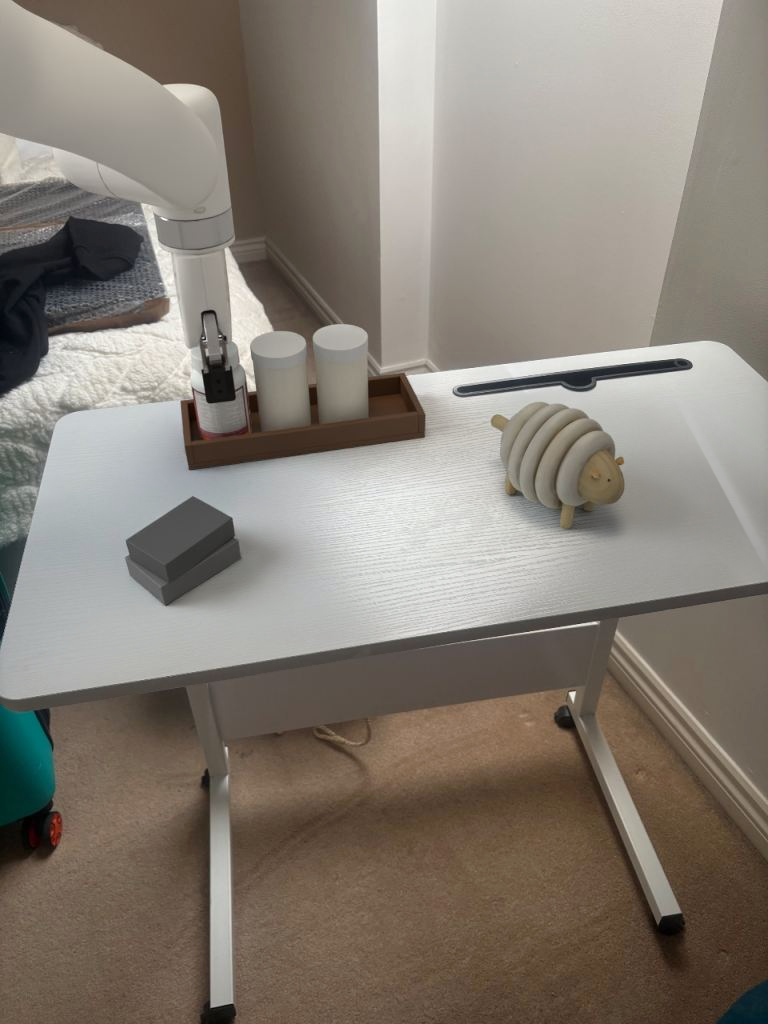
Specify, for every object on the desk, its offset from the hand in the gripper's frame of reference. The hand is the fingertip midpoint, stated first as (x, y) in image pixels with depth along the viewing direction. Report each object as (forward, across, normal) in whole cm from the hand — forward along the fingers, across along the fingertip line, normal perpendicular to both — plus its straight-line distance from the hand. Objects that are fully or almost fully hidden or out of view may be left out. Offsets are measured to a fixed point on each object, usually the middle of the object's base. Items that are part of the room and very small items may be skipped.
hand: (218, 383), depth 93 cm
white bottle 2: (+7, 0, +14) cm, 16 cm away
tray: (+8, 0, +9) cm, 12 cm away
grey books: (+8, +21, -6) cm, 23 cm away
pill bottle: (+7, 0, 0) cm, 7 cm away
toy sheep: (+8, +19, +33) cm, 39 cm away
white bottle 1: (+7, 0, +7) cm, 10 cm away
